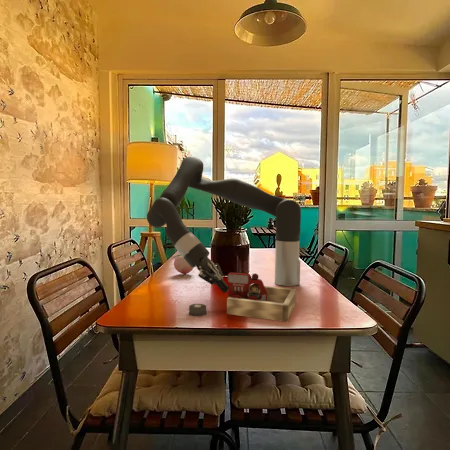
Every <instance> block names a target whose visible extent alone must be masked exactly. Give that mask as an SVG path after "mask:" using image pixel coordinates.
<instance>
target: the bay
mask: <svg viewBox="0 0 450 450" xmlns="http://www.w3.org/2000/svg"><path fill="white" fill-rule="evenodd" d="M251 285H252V284H251ZM251 285H250V286H251ZM250 286H249V292H248V294H247V295H248V296H249V293H250V292H251V291H250ZM264 286H265V288H266V290H267V301H258V300H249V299H239V298H230V297H229V298H228V297H227V299H226V315H232V316H239V317H241V316H242V317H249V318H257V319H262V320H263V319H264V320H270V319H271V320H272V321H278V320H282V321H281V322H286V321H288V322H289V320H290V318H291V316H290V315H292V313H293V311H294V309H295V307H296V303H297V288H289V287H280V286H278V287H276V286H267V285H264ZM258 293H260V290H259V292H258ZM293 308H294V309H293ZM289 317H290V318H289ZM288 319H289V320H288Z"/></svg>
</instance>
